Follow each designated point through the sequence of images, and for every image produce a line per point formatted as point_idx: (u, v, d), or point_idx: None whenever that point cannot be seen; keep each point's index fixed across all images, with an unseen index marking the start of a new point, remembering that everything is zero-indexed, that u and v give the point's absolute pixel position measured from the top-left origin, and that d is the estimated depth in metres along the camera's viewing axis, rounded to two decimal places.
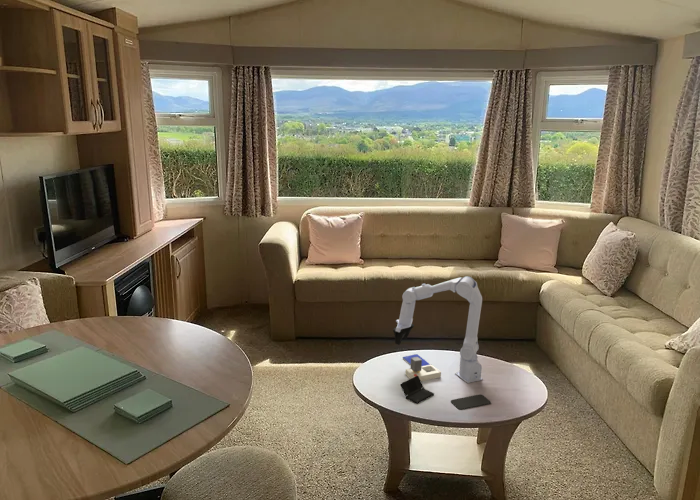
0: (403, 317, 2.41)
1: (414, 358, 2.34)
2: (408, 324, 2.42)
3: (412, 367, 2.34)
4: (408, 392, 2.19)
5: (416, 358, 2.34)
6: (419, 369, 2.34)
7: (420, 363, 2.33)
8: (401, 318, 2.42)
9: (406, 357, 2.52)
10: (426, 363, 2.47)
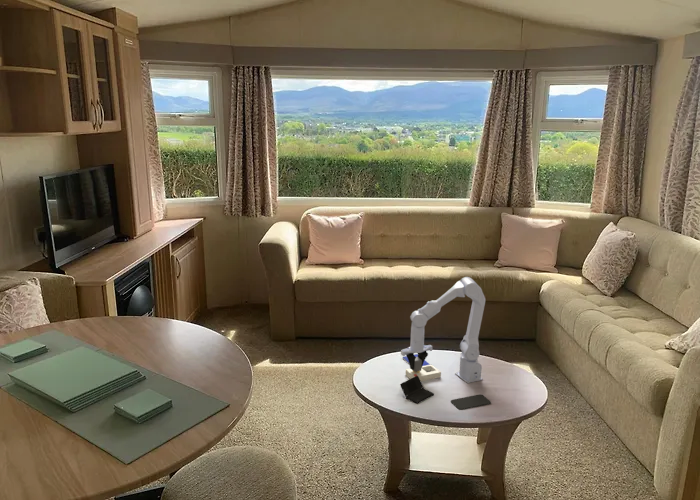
0: (411, 341, 2.31)
1: None
2: (416, 349, 2.30)
3: None
4: (408, 392, 2.19)
5: (416, 358, 2.34)
6: (419, 369, 2.34)
7: (420, 363, 2.33)
8: (410, 342, 2.32)
9: (406, 357, 2.53)
10: (426, 363, 2.47)
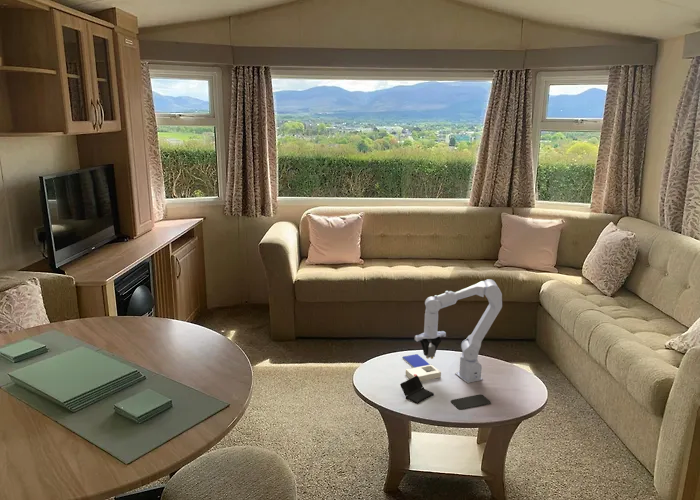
0: (425, 327, 2.32)
1: None
2: (430, 335, 2.31)
3: None
4: (408, 392, 2.19)
5: (429, 344, 2.35)
6: (432, 355, 2.35)
7: (434, 349, 2.35)
8: (424, 328, 2.33)
9: (406, 357, 2.53)
10: (426, 363, 2.47)
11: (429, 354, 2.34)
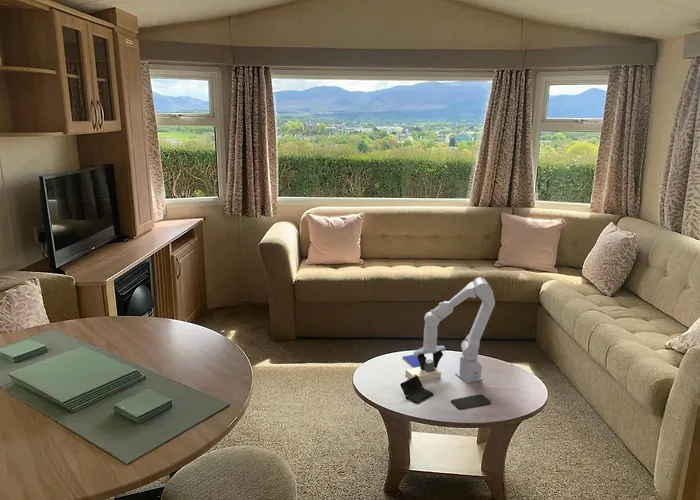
0: (424, 342, 2.34)
1: (427, 360, 2.37)
2: (429, 350, 2.33)
3: (425, 369, 2.37)
4: (408, 392, 2.19)
5: (429, 361, 2.37)
6: None
7: (433, 365, 2.36)
8: (423, 343, 2.35)
9: (406, 357, 2.53)
10: None
11: (428, 370, 2.36)
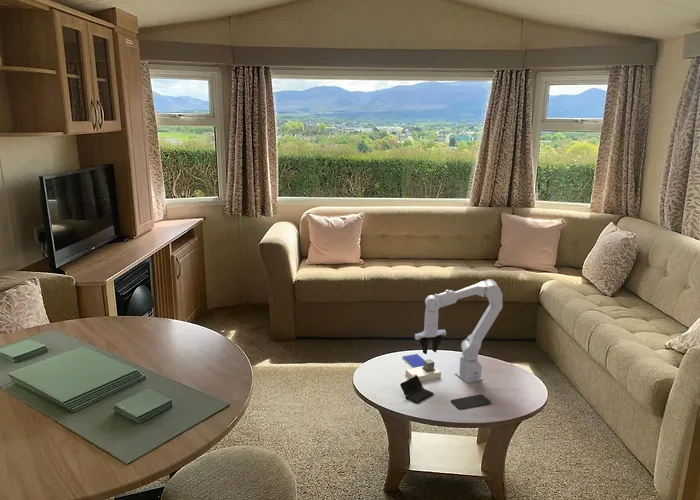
0: (425, 325, 2.32)
1: (427, 360, 2.37)
2: (430, 333, 2.31)
3: (425, 369, 2.37)
4: (408, 392, 2.19)
5: (429, 361, 2.37)
6: None
7: (433, 365, 2.36)
8: (424, 326, 2.33)
9: (406, 356, 2.53)
10: None
11: (428, 370, 2.36)
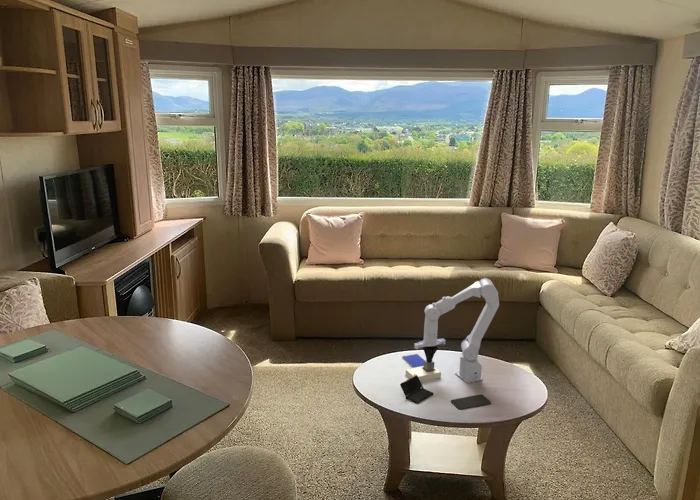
0: (424, 335, 2.33)
1: None
2: (430, 343, 2.32)
3: (425, 369, 2.37)
4: (408, 392, 2.19)
5: None
6: None
7: (433, 365, 2.36)
8: (424, 336, 2.34)
9: (406, 356, 2.53)
10: None
11: (428, 370, 2.36)
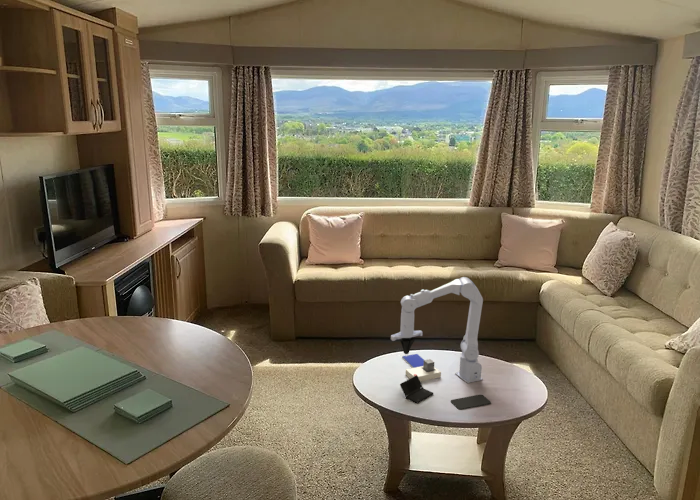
0: (401, 326, 2.31)
1: (427, 360, 2.37)
2: (406, 334, 2.30)
3: (425, 369, 2.37)
4: (408, 392, 2.19)
5: (429, 361, 2.37)
6: None
7: (433, 365, 2.36)
8: (400, 327, 2.32)
9: (406, 356, 2.53)
10: None
11: (428, 370, 2.36)
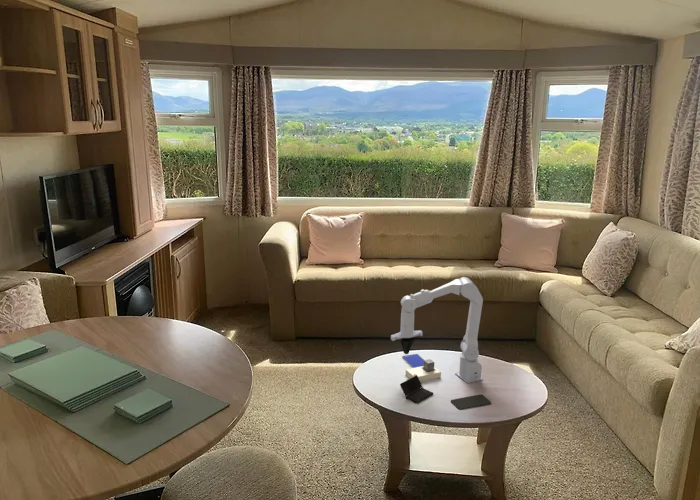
0: (401, 326, 2.31)
1: (427, 360, 2.37)
2: (406, 334, 2.30)
3: (425, 369, 2.37)
4: (408, 392, 2.19)
5: (429, 361, 2.37)
6: None
7: (433, 365, 2.36)
8: (400, 327, 2.32)
9: (406, 356, 2.53)
10: None
11: (428, 370, 2.36)
